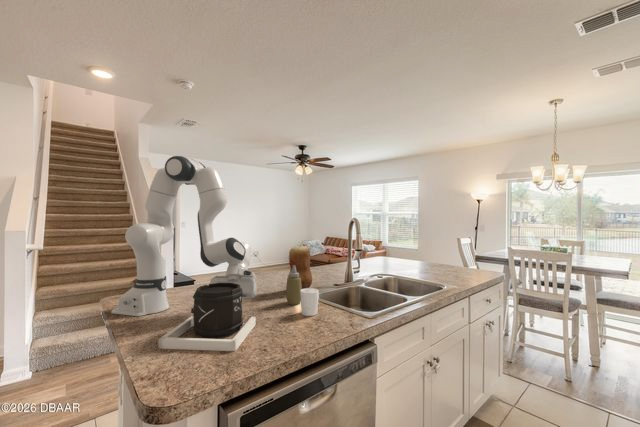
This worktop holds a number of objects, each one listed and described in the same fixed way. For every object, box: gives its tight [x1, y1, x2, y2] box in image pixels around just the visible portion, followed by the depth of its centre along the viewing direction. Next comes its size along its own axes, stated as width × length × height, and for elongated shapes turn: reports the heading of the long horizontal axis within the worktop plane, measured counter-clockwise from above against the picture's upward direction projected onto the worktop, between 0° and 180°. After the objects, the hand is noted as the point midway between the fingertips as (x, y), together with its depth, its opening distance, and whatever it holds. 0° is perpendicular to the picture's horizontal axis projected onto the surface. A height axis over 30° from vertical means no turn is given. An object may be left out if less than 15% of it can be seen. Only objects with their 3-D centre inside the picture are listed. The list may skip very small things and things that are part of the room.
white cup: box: [300, 287, 320, 317], centre depth 129 cm, size 8×8×10 cm
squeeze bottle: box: [285, 265, 302, 306], centre depth 143 cm, size 8×8×18 cm
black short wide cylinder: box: [190, 283, 244, 339], centre depth 111 cm, size 18×18×16 cm
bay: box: [158, 315, 257, 352], centre depth 106 cm, size 25×22×3 cm
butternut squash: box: [286, 245, 313, 289], centre depth 164 cm, size 14×13×25 cm
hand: (227, 306), depth 120 cm, fingers closed, pressing on black short wide cylinder
